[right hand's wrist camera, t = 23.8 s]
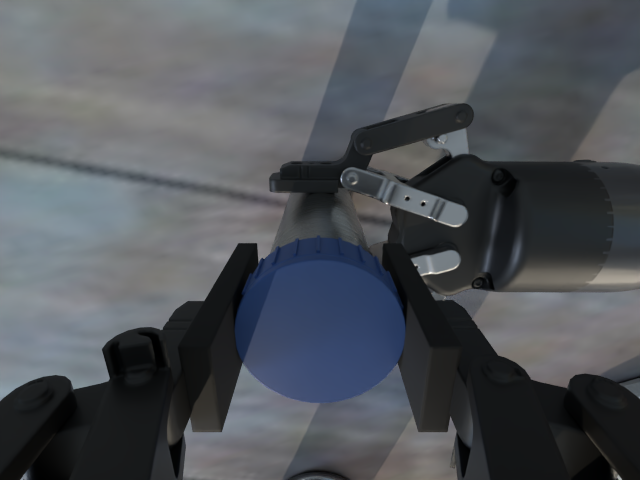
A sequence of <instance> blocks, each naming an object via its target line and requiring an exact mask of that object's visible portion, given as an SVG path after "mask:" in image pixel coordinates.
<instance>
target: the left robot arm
mask: <svg viewBox="0 0 640 480" xmlns="http://www.w3.org/2000/svg"><path fill="white" fill-rule="evenodd" d="M473 117H474V113H473V109H472V108H471V107H470V106H469V105H468V104H442V105H439V106H435V107H432V108H428V109H425V110H421V111H418V112H414V113H411V114H407V115H404V116H400V117H397V118H394V119H390V120H387V121H383V122H380V123H376V124H373V125H369V126H366V127H362V128H359V129H357V130H355V131H354V132H353V133H352V135H351V140H350V143H349V146H348V148H347V151H346V153H345V155H344V156H343V157H342V158H341V159H340V160H338V161H333V162H321V161H310V162H308V161H302V162H301V161H291V162H288V163H286V164H283V165H282V167H281V168H280V172H278V173H273V174H272V175H271V176H270V178H269V183H270V191H271V192H275V193H338V188H346V189H348V190H351V191H354V192H357V193H360V194H363V195H366V196H369V197H372V198H375V199H378V200H380V201H381V202H383V203H385V204H388V205H391V207H390V210H391V215H392V220H393V222H392V225H391V227H390V230H389V233H388V240H387V241H384V242H380V243H377V244H374V245H372V246H370V247H369V251H370V254H371V255H372V256H373V257H375V256H377V257H378V259H379V262H380V264H381V265H382V253H383V243H402V245H403V246H404V248H405V250H406V252H407V253H408V255H409V257H410V258H411V260H412V262H413V263H414V265H415V267H416V268H417V270H418V272H419V274H420V275H421V277H422V279H423V280H424V282H425V284H426V285H427V287H428V289H429V291H430V292H431V294H432V296H433V297H434V299H435V300H445V298H446V296H451V295H455V294H457V293H459V292H462V291H464V290H468V289H481V290H487V291H493V292H621V291H628V290H635V289H640V165H635V164H628V163H617V162H596V161H591V160H576V161H573V162H499V161H483V160H481V159H480V158H478V157H477V156H475V155H472V154H469V146H468V138H467V130H466V127H468V126H469V125H470V124H471V122H472V120H473ZM422 140H423V142H424V144H425V145H426V146H428V147H431V148H433V149H443V150H444V151H445V152H446V156H445V157H443V158H442V159H440V160H439V161H437V162H436V163H434V164H433V165H431V166H430V167H428V168H427V169H425V170H424V171H422V172H421V173H419V174H418V175H416V176H415V177H413V178H412V179H407V178H404V177H401V176H398V175H395V174H392V173H389V172H386V171H383V170H378V169H375V168H372V167H369V166H368V165H369V162H370V160H371V157H372V155H373V154H375V153H379V152H383V151H386V150H390V149H393V148H397V147H400V146H404V145H408V144H411V143H415V142H418V141H422ZM289 480H347V479H345V478H343V477H341V476H338V475H335V474H332V473H326V472H309V473H304V474H300V475H297V476H295V477H293V478H291V479H289Z"/></svg>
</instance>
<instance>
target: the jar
mask: <svg viewBox="0 0 640 480" xmlns="http://www.w3.org/2000/svg"><path fill="white" fill-rule="evenodd" d="M317 235H320V237H321V238H333V239H338V238H339V237H340V238H342V240H343V241H346V242H349V243H352V244H354V245H356V246H358V245H361V246H362V249H363V250H365V251H367V252H368V253H369V254H370V251H369V248H368V245H367V242H366V239H365V236H364V233H363V231H362V228H361V225H360V222H359V219H358V216H357V213H356V210H355V207H354V204H353V201H352V198H351V195H350V192H349V190H348V189H346V188H338V193H290V196H289V199H288V202H287V205H286V208H285V211H284V214H283V217H282V220H281V223H280V226H279V229H278V232H277V234H276V237H275V240H274V243H273V246H272V249H271V252H270V254H271V253H272V252H274V251H275V249H276V247H277V246H279V247H282V246H284V245H286V244H288V243H291V242H294V241H295V239H297V238H299V240H302V239H307V238H317Z"/></svg>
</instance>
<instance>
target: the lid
mask: <svg viewBox="0 0 640 480" xmlns="http://www.w3.org/2000/svg"><path fill="white" fill-rule="evenodd" d="M242 295H243V296H242V299H241V301H240V303H239V306H238V308H237V314H236V318H235V325H234V328H235V339H236V347H237V351H238V353H239V356H240V358H241V360H242V362H243V364H244V365H245V367H246V368H247V369H248V371H249V372H250V373H251V374H252V375H253V376H254V377H255V378H256V379H257V380H258V381H259V382H260V383H261V384H263V385H264V386H265V387H267V388H269V389H270V390H272V391H273V392H276V393H278V394H280V395H282V396H285V397H287V398H290V399H294V400H298V401H303V402H310V403H330V402H337V401H343V400H346V399H350V398H353V397H356V396H358V395H361V394H363V393H365V392H367V391H369V390H370V389H372V388H373V387H375V386H376V385H378V384H379V383H380V382H381V381H383V380H384V379H385V378H386V377H387V376H388V375H389V374H390V372H391V371H392V370H393V369H394V367H395V366H396V364H397V363H398V361H399V359H400V357H401V355H402V351H403V348H404V341H405V331H406V322H405V316H404V313H403V309H404V307H403V304H402V302H401V299H400V297H399V294H398V292H397V289H396V287H395V284H394V282H393V280H392V277H391V275H390V272H389V271H385V269H384V268H383V266H382V265H381V264H380V262H379V259H378V257H377V256H375V257H373V256H372V255H371V254H369V253H368V252H367V251H365V250H363V249H362V246H361V245H358V246H356V245H354V244H352V243H349V242H346V241H343V240H342V238H340V237H339V238H338V239H333V238H321V237H320V235H317V238H307V239H302V240H299V238H297V239H295V241H294V242H291V243H288V244H286V245H284V246H282V247H279V246H277V247H276V249H275V251H274V252H272V253H271V254H269V255H268V256H267V257H266V258H265V259H263V258H262V259H261V260H260V262H259V264H258V267H257V268H256V270H255V271H254V273H253V274H252V273H250V275H249V277H248V280H247V282H246V284H245V287H244V289H243V292H242Z"/></svg>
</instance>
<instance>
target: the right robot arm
mask: <svg viewBox="0 0 640 480" xmlns="http://www.w3.org/2000/svg"><path fill="white" fill-rule="evenodd" d="M382 266H383V268H384V269H385V271H389V272H390V275H391V277H392V280H393V282H394V284H395V287H396V289H397V292H398V294H399V297H400V299H401V302H402V304H403V307H404V309H403V313H404V316H405V322H406V331H405V341H404V348H403V351H402V355H401V357H400V359H399V361H398V365H399V369H400V372H401V375H402V379H403V382H404V385H405V389H406V392H407V395H408V399H409V402H410V405H411V409H412V412H413V415H414V419H415V422H416V425H417V429H418V432H447V431H448V426H449V420H450V416H451V418H452V421H453V423H454V425H455V428H456V430H457V433H456V438H455V443H454V448H453V453H452V458H451V465H450V467H451V468H455V465H456V468H457V478H458V480H618V478H617V476H618V475H619V476H620V478H621V479H622V480H640V399H639V398H638V397H637V396H636V395H635V394H633V393H632V392H631V391H629V390H628V389H627V388H625V387H624V386H622V385H620V384H618V383H616V382H614V381H612V380H610V379H607V378H604V377H601V376H598V375H590V374H580V375H575V376H574V377H573V378H571V379H570V382H569V385H568V388H563V387H559V386H554V385H550V384H546V383H541V382H537V381H534V380H531V379H530V377H529V375H528V374H527V372H526V371H525V370H524V369H523V368H522V367H520V366H519V365H518V364H517V363H515V362H513V361H511V360H509V359H507V358H505V357H501V356H498V355H497V353H496V352H495V351H494V349H493V348H492V346H491V345H490V344H489V342H488V341H487V339H486V338H485V336H484V335H483V334H482V332H481V331H480V329H478V328H477V325H476V324H475V322H474V321H473V320H472V318H471V317H470V315H469V314H468V313H467V311H466V310H465V308H463V307H462V306H460V305H459V304H457V303H456V302H454V301H453V300H435V299H434V297H433V296H432V294H431V292H430V291H429V289H428V287H427V285H426V284H425V282H424V280H423V279H422V277H421V275H420V274H419V272H418V270H417V268H416V267H415V265H414V263H413V262H412V260H411V258H410V257H409V255H408V253H407V252H406V250H405V248H404V246H403V245H402V243H383V253H382ZM257 267H258V250H257V243H238V245H237V247H236V249H235V250H234V252H233V254H232V255H231V257H230V259H229V260H228V262H227V264H226V265H225V267H224V269H223V271H222V272H221V274H220V276H219V277H218V279H217V281H216V282H215V284H214V286H213V288H212V289H211V291H210V293H209V294H208V296H207V298H206V299H205V301H188V302H186V303H185V304H183V305H182V306H180V307H179V308H177V309H176V310H175V311H174V313H173V314H172V316H171V317H170V319H169V322H167V323H166V324H165V326H164V327H163V330H160V329H156V328H152V327H144V328H137V329H132V330H128V331H126V332H124V333H121V334H119V335H117V336H115V337H114V338H113V339H111V340H110V341H108V342H107V343H106V345H105V346H104V347H103V348H102V351H103V355H104V358H105V362H106V366H107V369H108V373H109V377H110V379H109V381H108V382H104V383H101V384H97V385H92V386H88V387H83V388H79V389H74V390H73V387H72V384H71V381H70V380H69V379H68V378H66V377H65V376H58V375H53V376H46V377H42V378H38V379H36V380H32V381H30V382H28V383H26V384H24V385H22V386H20V387H18V388H16V389H15V390H14V391H12V392H11V393H10V394H8V395H7V396H6V397H4V398H3V399H2V400H1V401H0V480H20V479H21V478H22V477H23V478H24V479H23V480H182V479H183V469H184V459H185V449H186V444H185V438H184V433H183V432H184V430H185V428H186V425H187V423H188V420H189V418H190V419H191V425H192V430H193V432H222V429H223V426H224V423H225V419H226V416H227V413H228V409H229V406H230V403H231V399H232V396H233V393H234V389H235V386H236V383H237V379H238V376H239V373H240V369H241V366H242V363H243V362H242V360H241V358H240V356H239V353H238V351H237V347H236V339H235V328H234V325H235V318H236V314H237V308H238V306H239V303H240V301H241V299H242V296H243V295H242V292H243V289H244V287H245V284H246V282H247V280H248V277H249V275H250V273H252V274H253V273H254V271H255V270H256V268H257Z"/></svg>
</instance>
